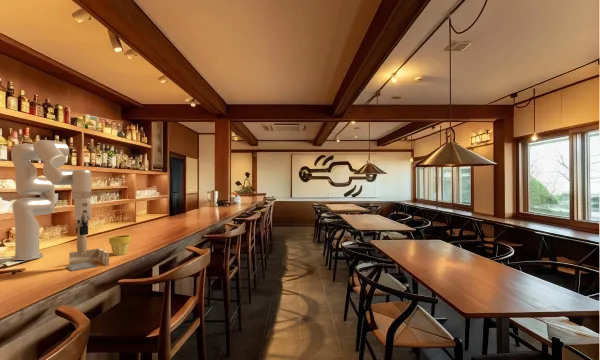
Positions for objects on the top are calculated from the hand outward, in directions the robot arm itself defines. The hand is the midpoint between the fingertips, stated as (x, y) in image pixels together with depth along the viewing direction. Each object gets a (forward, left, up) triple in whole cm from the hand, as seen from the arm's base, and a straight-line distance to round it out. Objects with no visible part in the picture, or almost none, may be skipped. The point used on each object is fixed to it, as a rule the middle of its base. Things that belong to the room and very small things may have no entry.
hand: (82, 233), depth 145 cm
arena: (-1, +3, -16) cm, 16 cm away
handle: (0, 0, -10) cm, 10 cm away
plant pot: (-15, +21, -16) cm, 30 cm away
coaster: (0, 0, -16) cm, 16 cm away
